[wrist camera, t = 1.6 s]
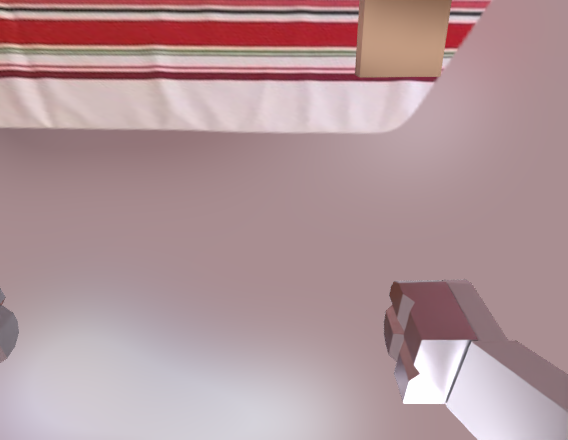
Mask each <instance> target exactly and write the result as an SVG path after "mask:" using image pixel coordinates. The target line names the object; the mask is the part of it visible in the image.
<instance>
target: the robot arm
mask: <svg viewBox="0 0 568 440" xmlns="http://www.w3.org/2000/svg"><path fill="white" fill-rule="evenodd" d="M389 296H390V299H391V302H392V306H391V307H389V308H388V309H387V310H386V313H385V319H384V337H385V343H386V347H387V351H388V354H389V356H391V357H392V358H393V359H394V360H395V361H396V362H397V364H396V368H395V372H394V375H395V378H396V381H397V384H398V387H399V391H400V394H401V397H402V400H403V403H437V404H439V403H441V404H446V406H447V407H448V408H449V410H450V411H451V412H452V413H453V414H454V415H455V416H456V417H457V418H458V419H459V420H460V421H461V422H462V423H463V424H464V425H465V426H466V428H467V429H468V430H469V431H470V432H471V433H472V434H473V435H474V436H475V437H476V438H477V439H478V440H568V374H567V373H565V372H564V371H562V370H560V369H559V368H557V367H556V366H554V365H553V364H551V363H550V362H548V361H547V360H545V359H544V358H542V357H541V356H539V355H537V354H536V353H535V352H533V351H531V350H530V349H528V348H527V347H525V346H524V345H522V344H521V343H519V342H518V341H509V340H508V339H507V337H506V336H505V334H504V333H503V331H502V330H501V328H500V327H499V325H498V323H497V322H496V321H495V319H494V317H493V316H492V314H491V313H490V311H489V310H488V308H487V307H486V305H485V303H484V302H483V300H482V299H481V297H480V296H479V294H478V293H477V291H476V290H475V288H474V286H473V285H472V283H471V282H469V281H468V280H465V279H464V280H442V281H439V280H437V281H394V282H393V284H392V285H391V289H390V293H389ZM5 298H6V297H5V295H4V294H3V292H2V290H1V288H0V363H1V362H2V361H4V360H5V359H7V358H8V356H9V355H10V353H11V352H12V350H13V349H14V347H15V345H16V341H17V337H18V334H19V329H18V322H17V319H16V317H15V315H14V313H13V312H11V311H10V310H8V309H7V308H5V307H4V306H2V304H3V302H4V300H5Z"/></svg>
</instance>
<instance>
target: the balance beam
mask: <svg viewBox="0 0 568 440" xmlns="http://www.w3.org/2000/svg"><path fill="white" fill-rule="evenodd" d="M451 1H452V0H360V4H359V20H358V36H357V52H356V68H355V75H357V76H359V77H438V76H440V75H441V68H442V61H443V55H444V48H445V41H446V35H447V28H448V21H449V14H450V8H451Z"/></svg>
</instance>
